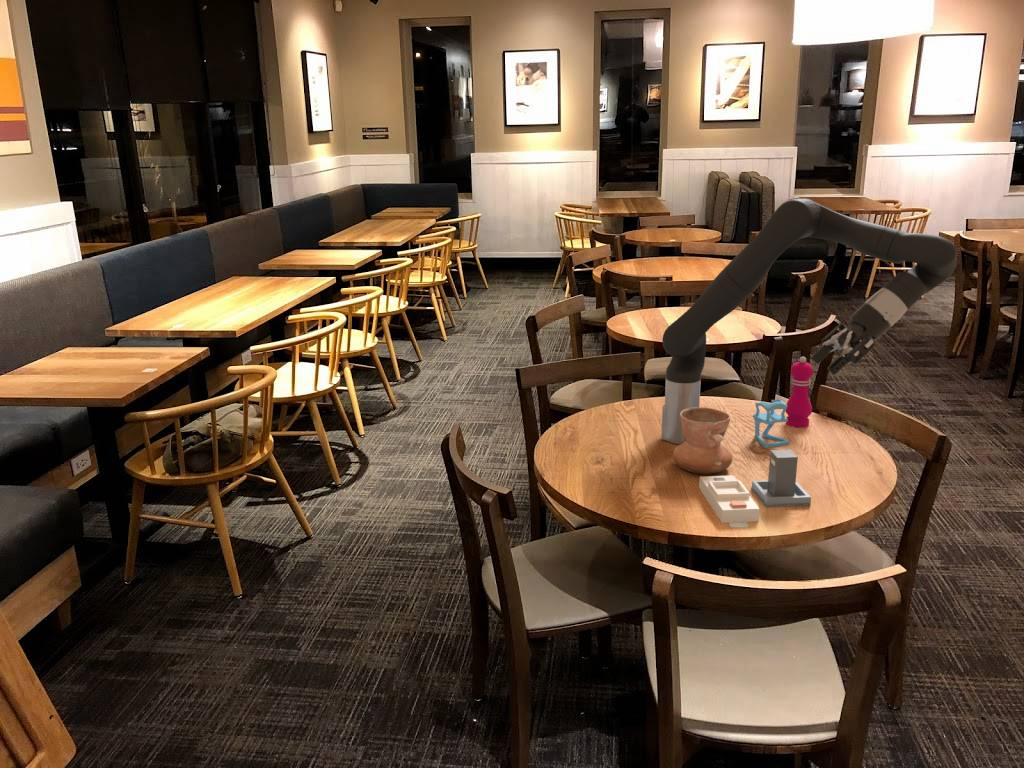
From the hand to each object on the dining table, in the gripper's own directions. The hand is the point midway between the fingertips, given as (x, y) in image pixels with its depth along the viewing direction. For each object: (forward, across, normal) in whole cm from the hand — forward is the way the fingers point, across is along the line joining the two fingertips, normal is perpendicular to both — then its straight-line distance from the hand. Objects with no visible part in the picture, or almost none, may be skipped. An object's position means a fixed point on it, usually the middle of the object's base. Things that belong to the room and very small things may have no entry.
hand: (821, 366), depth 180 cm
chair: (+20, -34, +24) cm, 46 cm away
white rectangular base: (+36, +4, +7) cm, 37 cm away
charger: (+26, +1, +16) cm, 31 cm away
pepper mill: (+11, -46, +33) cm, 58 cm away
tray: (+27, +1, +17) cm, 32 cm away
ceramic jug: (+36, -18, +7) cm, 41 cm away
